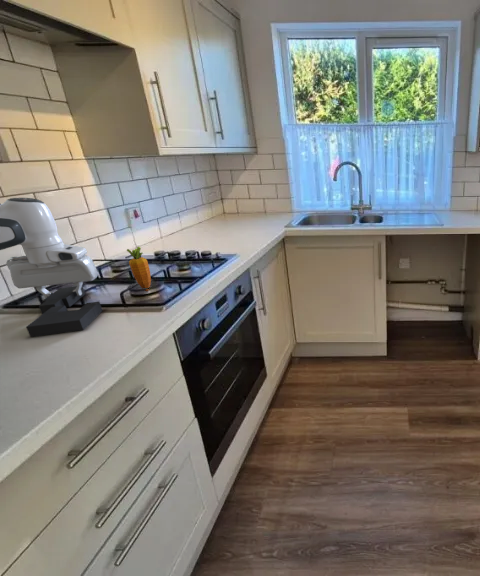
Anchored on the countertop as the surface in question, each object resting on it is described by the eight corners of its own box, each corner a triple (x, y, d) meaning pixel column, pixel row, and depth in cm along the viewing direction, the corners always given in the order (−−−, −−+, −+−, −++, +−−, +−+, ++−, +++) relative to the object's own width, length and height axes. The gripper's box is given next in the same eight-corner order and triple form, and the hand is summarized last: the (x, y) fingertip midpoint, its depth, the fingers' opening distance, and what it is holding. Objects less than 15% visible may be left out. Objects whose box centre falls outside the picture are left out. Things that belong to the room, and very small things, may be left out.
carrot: (134, 293, 116) (120, 248, 110) (148, 287, 121) (135, 244, 115) (146, 295, 115) (132, 250, 109) (159, 289, 119) (146, 245, 113)
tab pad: (38, 316, 103) (33, 306, 102) (63, 296, 115) (60, 288, 114) (62, 313, 104) (58, 303, 103) (85, 294, 117) (82, 285, 116)
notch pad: (30, 337, 92) (25, 326, 90) (55, 316, 102) (51, 306, 101) (83, 330, 94) (79, 320, 93) (102, 310, 105) (99, 301, 104)
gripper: (-4, 261, 100) (17, 305, 106) (82, 253, 105) (97, 296, 110) (11, 254, 106) (30, 297, 111) (91, 247, 111) (106, 288, 116)
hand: (64, 296), depth 111 cm, fingers closed on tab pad, 6 cm apart
